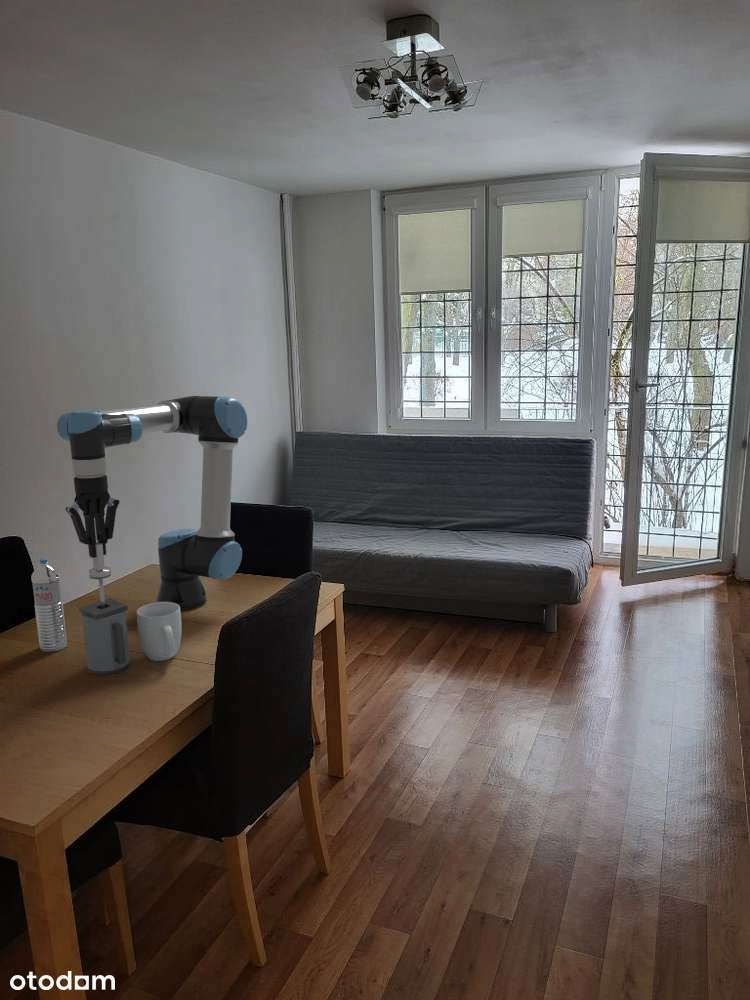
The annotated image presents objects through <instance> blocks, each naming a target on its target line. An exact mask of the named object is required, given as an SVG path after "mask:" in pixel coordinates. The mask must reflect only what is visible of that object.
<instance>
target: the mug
mask: <svg viewBox="0 0 750 1000" xmlns="http://www.w3.org/2000/svg"><path fill="white" fill-rule="evenodd" d="M135 613H136V623H137V633H138V638H139V641H140V645H141V646H142V650H143V652H144V654H145V655H146V656H147V657H148V659H149V660H151V661H154V662H159V661H160V662H162V661H167V660H168V661H169V660H170V659H172V658H174V656H175V655H176V654H177V653H178V650H179V648H180V644H181V639H182V628H183V627H182V613H181V611H180V606H179V605H178V604H176V603H172V602H157V601H156V602H151V603H148V604H145V605H142V606H140V607H139V608H138V609H137V610H136V612H135Z"/></svg>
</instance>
